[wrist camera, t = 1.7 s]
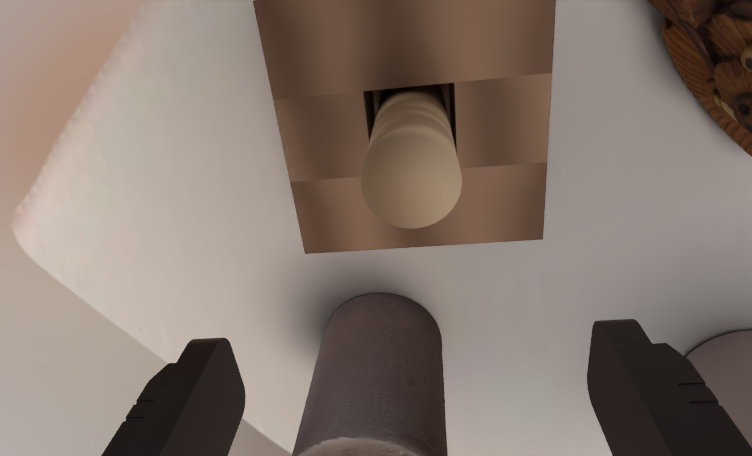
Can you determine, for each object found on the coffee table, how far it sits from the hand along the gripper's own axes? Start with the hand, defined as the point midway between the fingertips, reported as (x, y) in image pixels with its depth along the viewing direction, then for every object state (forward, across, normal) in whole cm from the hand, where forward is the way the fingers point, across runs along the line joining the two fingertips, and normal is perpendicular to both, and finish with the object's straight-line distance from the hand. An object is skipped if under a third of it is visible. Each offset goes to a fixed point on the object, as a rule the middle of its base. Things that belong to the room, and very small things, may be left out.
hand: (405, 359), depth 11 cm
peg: (+22, 0, 0) cm, 22 cm away
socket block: (+23, 0, 0) cm, 23 cm away
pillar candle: (+23, +4, +19) cm, 30 cm away
